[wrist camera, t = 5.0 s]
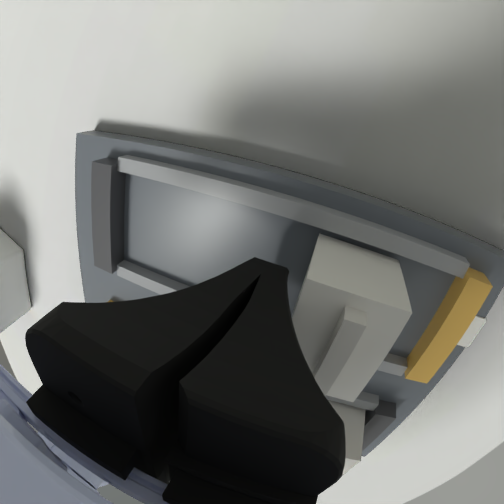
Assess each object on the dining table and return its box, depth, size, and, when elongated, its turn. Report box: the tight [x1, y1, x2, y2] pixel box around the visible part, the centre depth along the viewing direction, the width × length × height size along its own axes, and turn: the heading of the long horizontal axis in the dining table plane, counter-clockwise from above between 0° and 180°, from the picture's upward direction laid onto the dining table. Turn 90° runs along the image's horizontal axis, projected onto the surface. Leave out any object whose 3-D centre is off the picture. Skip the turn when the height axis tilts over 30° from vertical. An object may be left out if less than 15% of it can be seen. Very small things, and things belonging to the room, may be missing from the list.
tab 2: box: [327, 399, 366, 475], centre depth 13 cm, size 4×3×4 cm
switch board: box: [75, 130, 504, 457], centre depth 14 cm, size 15×20×2 cm
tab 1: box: [291, 233, 412, 402], centre depth 9 cm, size 4×3×4 cm
